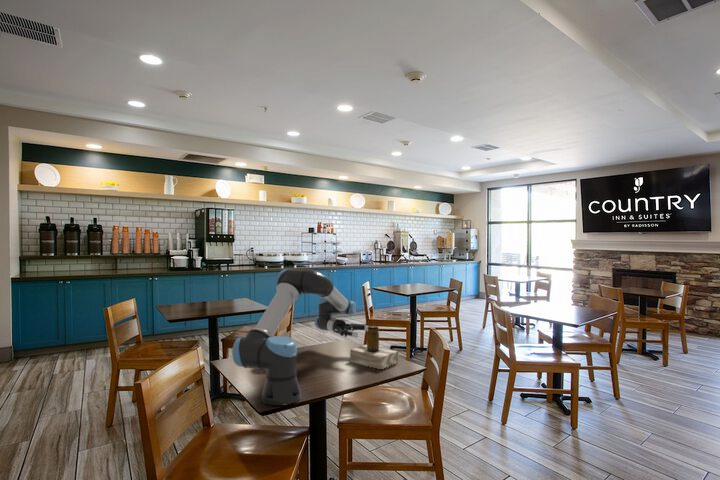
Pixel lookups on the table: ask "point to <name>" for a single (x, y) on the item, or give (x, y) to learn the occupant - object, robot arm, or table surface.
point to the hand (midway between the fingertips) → (366, 332)
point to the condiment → (373, 340)
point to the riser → (374, 357)
